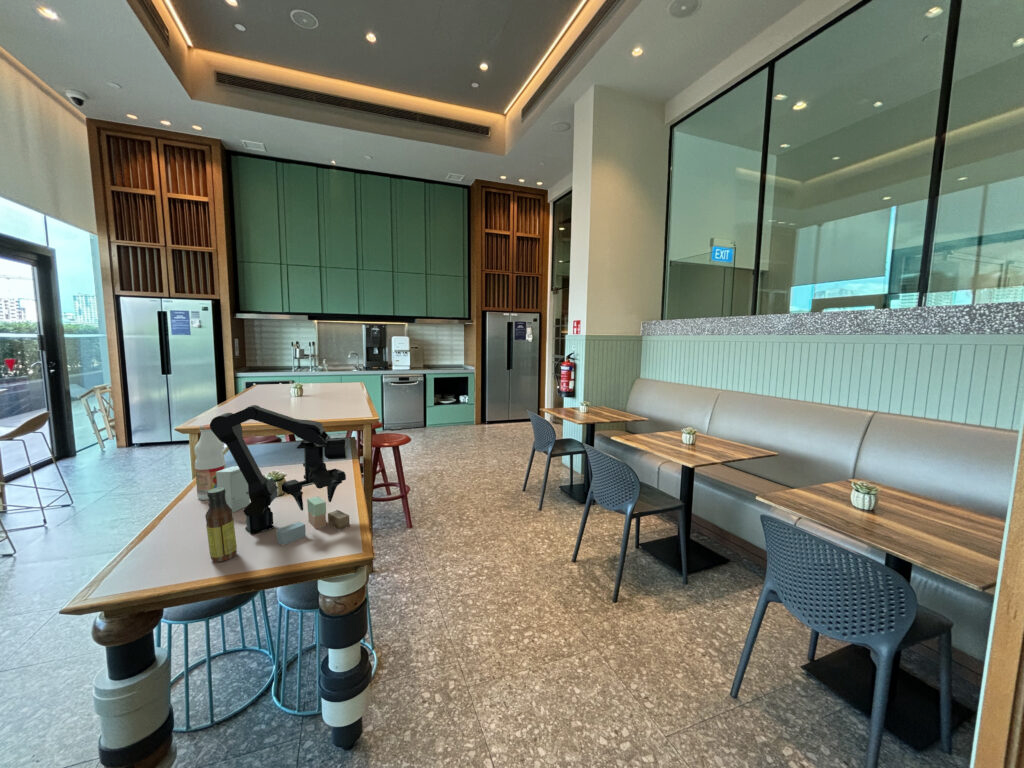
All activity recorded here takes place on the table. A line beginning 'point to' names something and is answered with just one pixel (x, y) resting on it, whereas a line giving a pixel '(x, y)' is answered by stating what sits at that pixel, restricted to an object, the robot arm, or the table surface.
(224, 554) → the sauce bottle
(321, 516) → the tan brick
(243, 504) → the skincare box
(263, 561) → the table surface
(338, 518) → the walnut brick
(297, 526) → the slate brick
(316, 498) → the sage brick
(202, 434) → the fruit juice
